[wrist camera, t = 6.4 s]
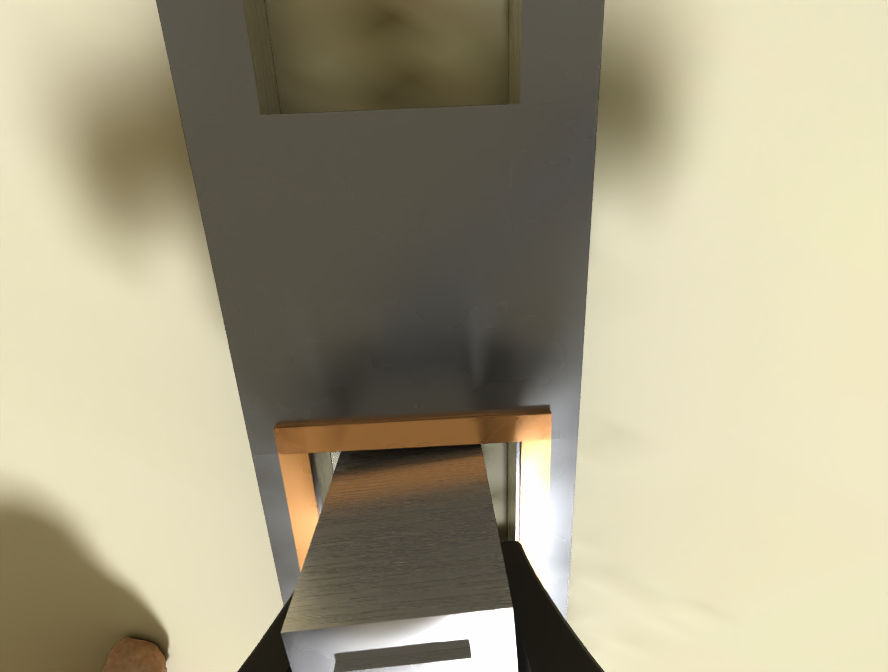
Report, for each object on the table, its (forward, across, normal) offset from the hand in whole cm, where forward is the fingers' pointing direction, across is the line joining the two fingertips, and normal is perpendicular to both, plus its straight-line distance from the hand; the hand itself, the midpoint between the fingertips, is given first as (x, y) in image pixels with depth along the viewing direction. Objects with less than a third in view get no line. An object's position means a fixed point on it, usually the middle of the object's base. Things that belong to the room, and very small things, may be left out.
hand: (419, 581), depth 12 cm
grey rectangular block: (+3, 0, -1) cm, 3 cm away
